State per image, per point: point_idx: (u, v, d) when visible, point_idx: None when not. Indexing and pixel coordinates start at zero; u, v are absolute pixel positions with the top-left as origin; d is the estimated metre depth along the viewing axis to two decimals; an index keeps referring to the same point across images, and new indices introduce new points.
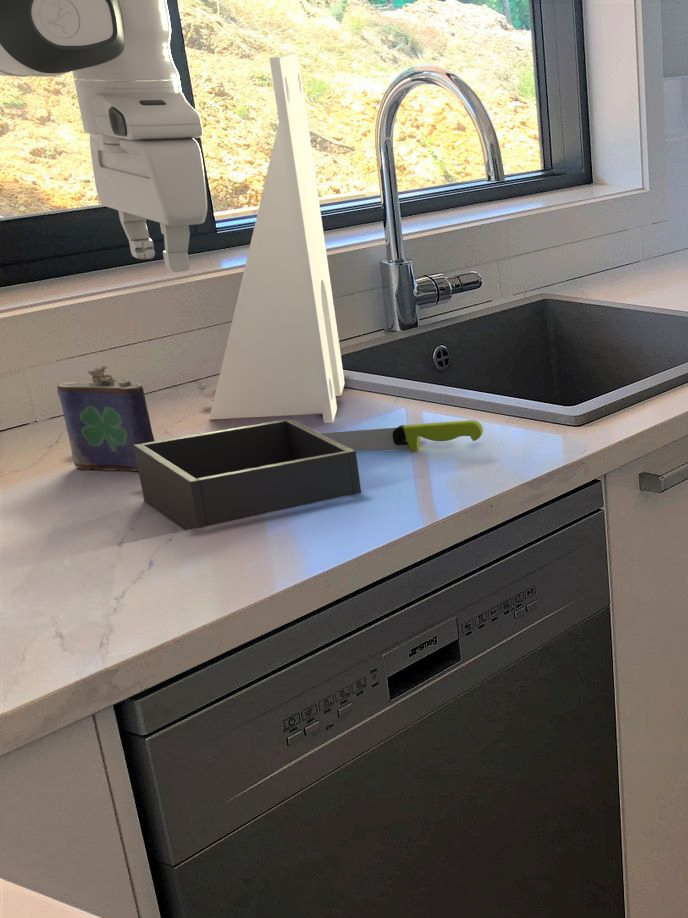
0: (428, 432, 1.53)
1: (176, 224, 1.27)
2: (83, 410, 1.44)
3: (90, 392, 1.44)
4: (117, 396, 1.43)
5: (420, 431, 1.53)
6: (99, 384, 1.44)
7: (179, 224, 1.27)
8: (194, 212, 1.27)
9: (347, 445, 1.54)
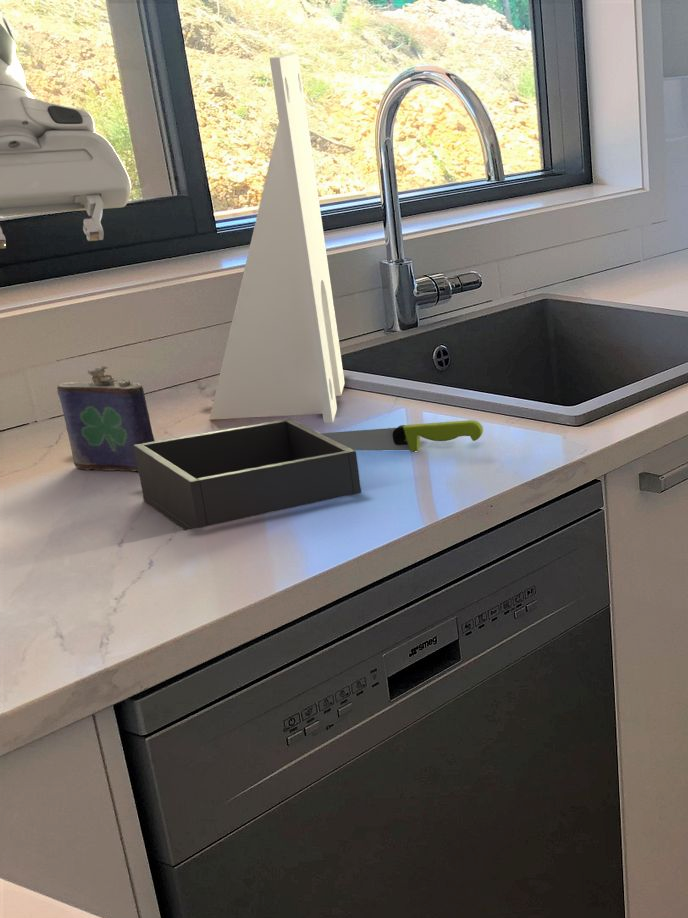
0: (428, 432, 1.53)
1: (127, 191, 1.53)
2: (83, 410, 1.44)
3: (90, 392, 1.44)
4: (117, 396, 1.43)
5: (420, 431, 1.53)
6: (99, 384, 1.44)
7: (127, 193, 1.53)
8: None
9: (347, 445, 1.54)
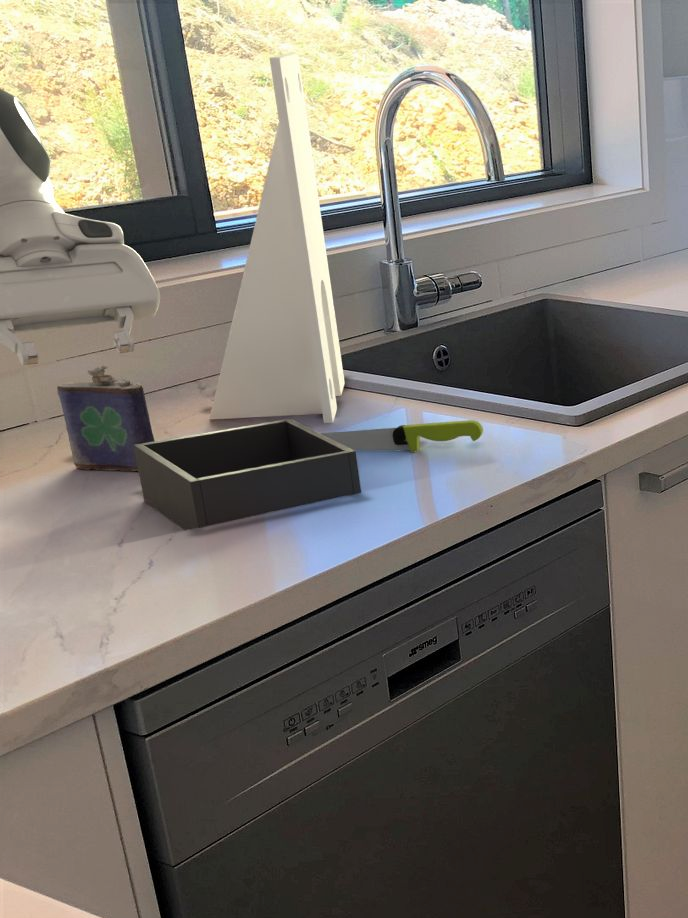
0: (428, 432, 1.53)
1: (157, 303, 1.53)
2: (83, 410, 1.44)
3: (90, 392, 1.44)
4: (117, 396, 1.43)
5: (420, 431, 1.53)
6: (99, 384, 1.44)
7: (156, 304, 1.54)
8: None
9: (347, 445, 1.54)
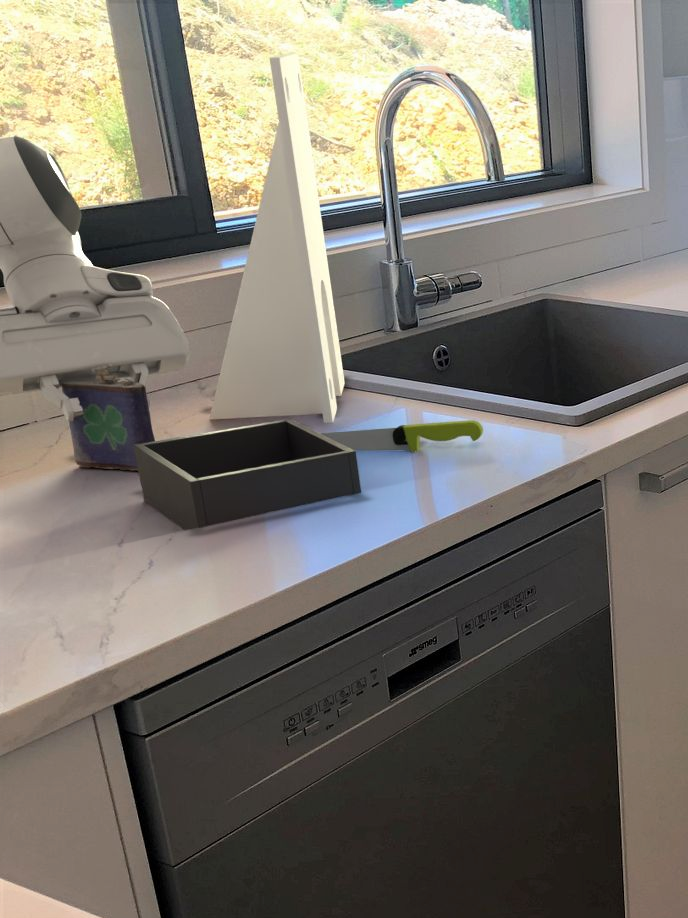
0: (428, 432, 1.53)
1: (187, 356, 1.51)
2: (85, 407, 1.45)
3: (93, 390, 1.44)
4: (119, 395, 1.43)
5: (420, 431, 1.53)
6: (102, 382, 1.44)
7: (186, 357, 1.51)
8: None
9: (347, 445, 1.54)
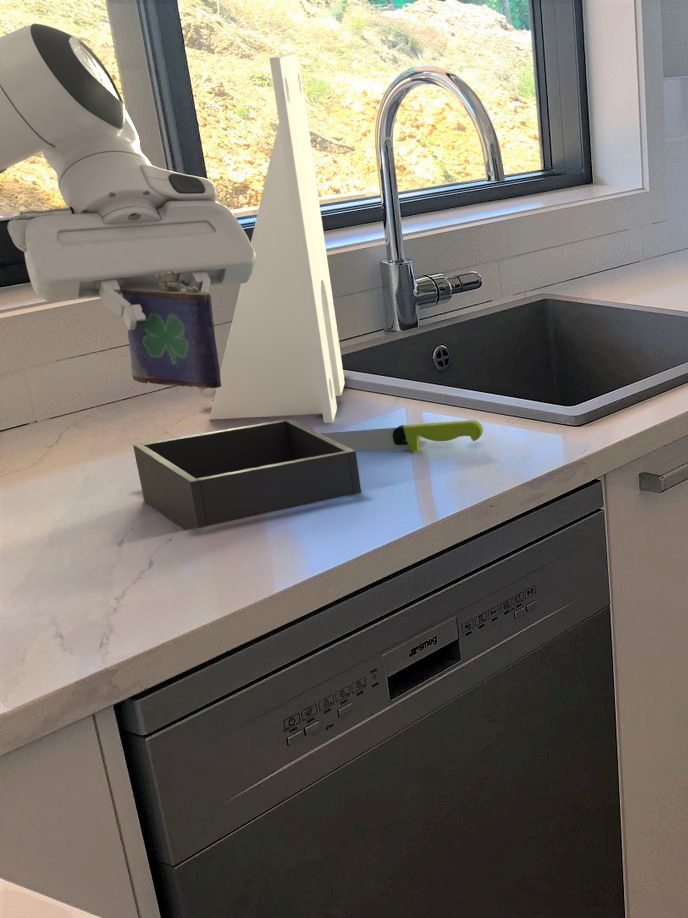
0: (428, 432, 1.53)
1: (252, 266, 1.40)
2: (146, 316, 1.33)
3: (155, 297, 1.33)
4: (182, 302, 1.32)
5: (420, 431, 1.53)
6: (165, 289, 1.33)
7: (252, 268, 1.40)
8: None
9: (347, 445, 1.54)
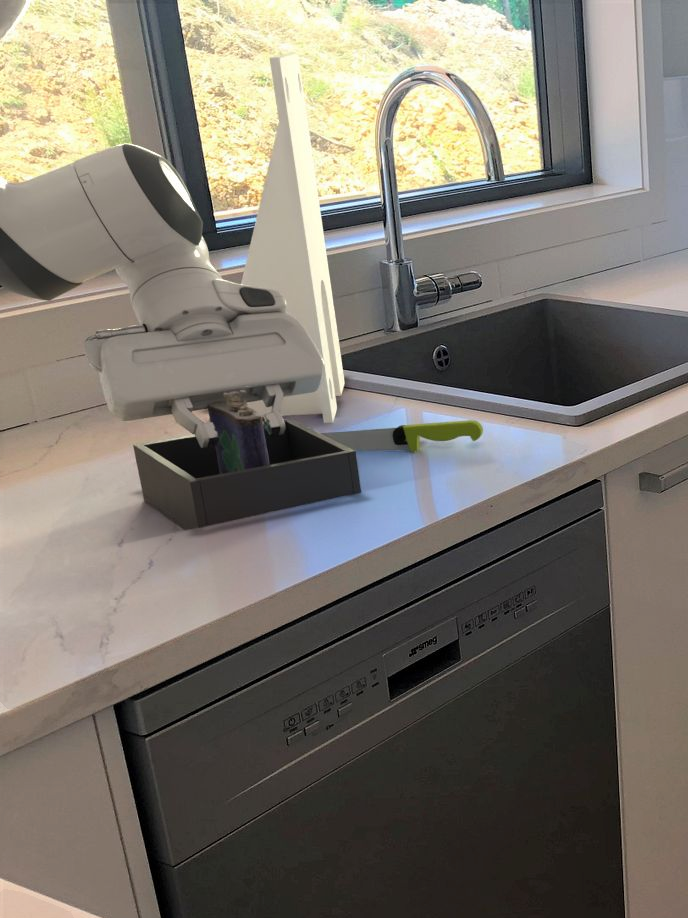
0: (428, 432, 1.53)
1: (322, 376, 1.40)
2: (221, 433, 1.35)
3: (223, 416, 1.33)
4: (235, 425, 1.31)
5: (420, 431, 1.53)
6: (231, 409, 1.33)
7: (321, 378, 1.40)
8: None
9: (347, 445, 1.54)
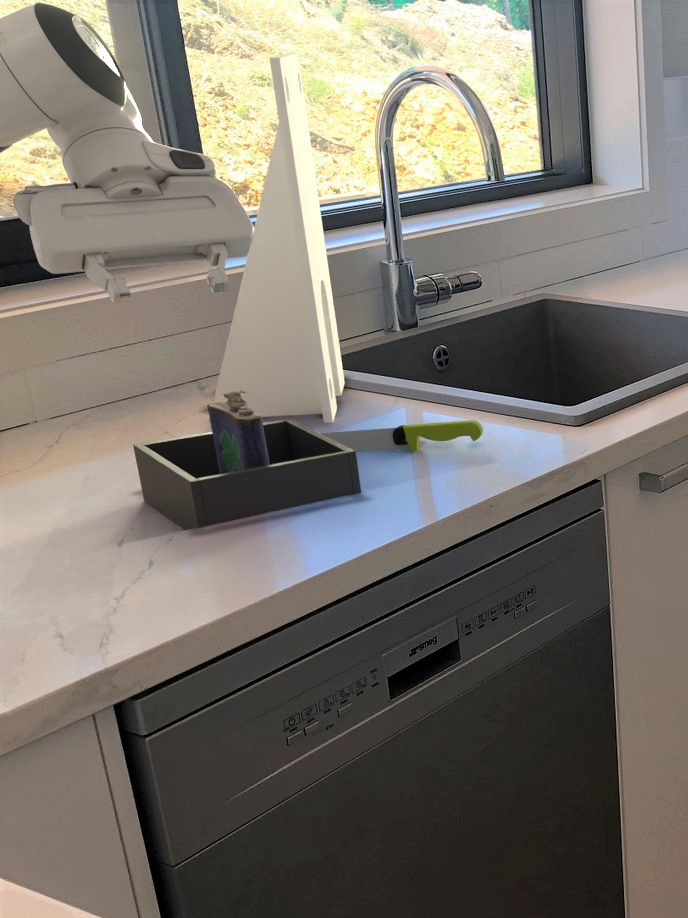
0: (428, 432, 1.53)
1: (251, 240, 1.44)
2: (221, 433, 1.35)
3: (223, 416, 1.33)
4: (235, 425, 1.31)
5: (420, 431, 1.53)
6: (231, 409, 1.33)
7: (251, 242, 1.44)
8: None
9: (347, 445, 1.54)
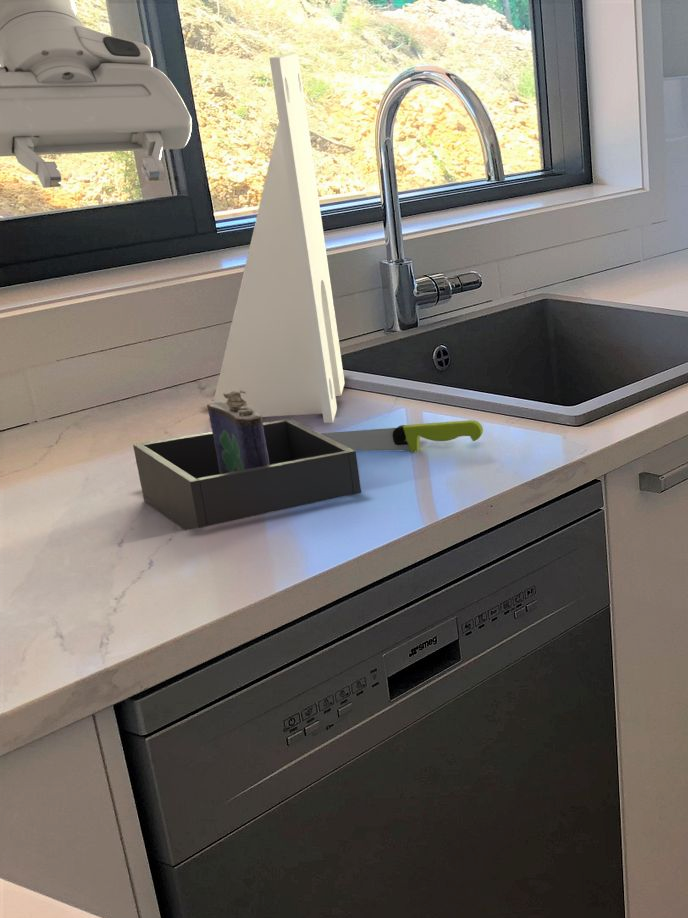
0: (428, 432, 1.53)
1: (188, 130, 1.41)
2: (221, 433, 1.35)
3: (223, 416, 1.33)
4: (235, 425, 1.31)
5: (420, 431, 1.53)
6: (231, 409, 1.33)
7: (188, 132, 1.42)
8: None
9: (347, 445, 1.54)
